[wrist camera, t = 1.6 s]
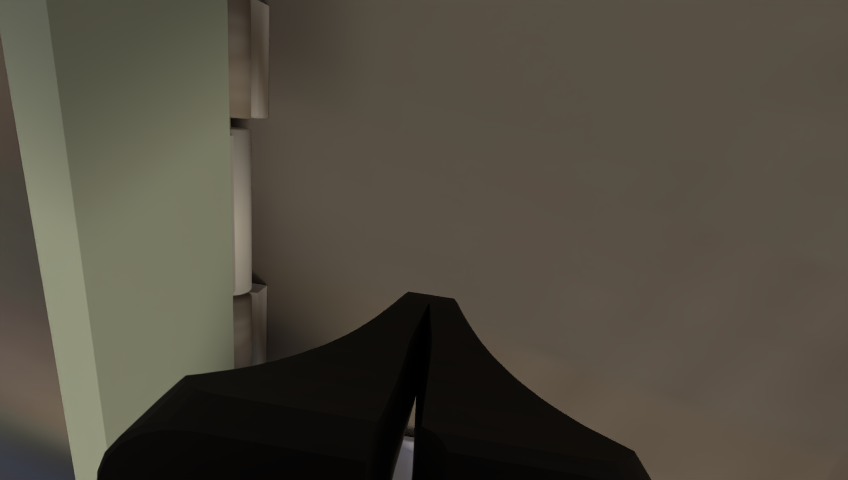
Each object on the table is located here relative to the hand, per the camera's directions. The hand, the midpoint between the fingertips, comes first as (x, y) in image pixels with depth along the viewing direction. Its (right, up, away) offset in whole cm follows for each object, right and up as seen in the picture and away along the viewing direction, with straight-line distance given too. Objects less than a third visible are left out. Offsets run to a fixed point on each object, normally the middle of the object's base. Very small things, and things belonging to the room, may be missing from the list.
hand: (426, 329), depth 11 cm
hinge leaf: (-9, +2, +4) cm, 11 cm away
